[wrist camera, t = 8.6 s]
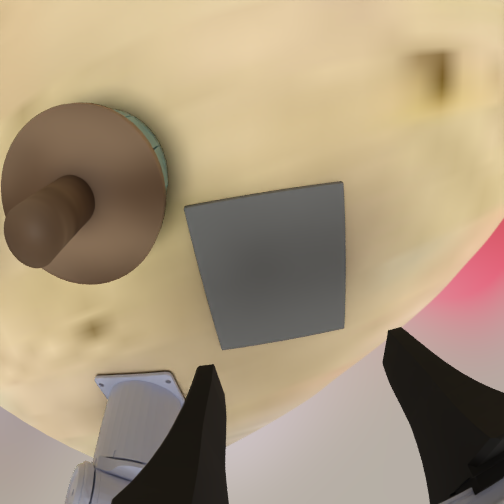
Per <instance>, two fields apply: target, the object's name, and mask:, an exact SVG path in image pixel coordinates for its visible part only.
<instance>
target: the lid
mask: <svg viewBox="0 0 504 504" xmlns="http://www.w3.org/2000/svg"><path fill="white" fill-rule="evenodd" d="M1 196H2V203H3V209H4V213H5V216H6V218H5V222H4V235H5V239H6V242H7V245H8V247H9V249H10V251H11V252H12V254H13V255H14V256H15V257H16V258H17V259H18V260H19V261H20V262H21V263H23V264H25V265H27V266H29V267H32V268H42V269H44V270H45V271H47V272H49V273H50V274H52V275H54V276H56V277H58V278H60V279H63V280H66V281H69V282H73V283H78V284H89V285H90V284H102V283H107V282H110V281H113V280H116V279H119V278H121V277H123V276H125V275H127V274H128V273H129V272H131V271H132V270H134V269H135V268H136V267H137V266H138V265H139V264H140V263H141V262H142V261H143V260H144V259H145V257H146V256H147V255H148V254H149V252H150V250H151V248H152V247H153V245H154V243H155V241H156V239H157V236H158V234H159V231H160V229H161V226H162V223H163V219H164V214H165V206H166V188H165V181H164V176H163V172H162V168H161V165H160V162H159V160H158V157H157V155H156V153H155V151H154V149H153V147H152V145H151V144H150V142H149V141H148V139H147V138H146V137H145V135H144V134H143V133H142V131H141V130H140V129H139V128H138V127H137V126H136V125H135V124H134V123H133V122H131V121H130V120H129V119H127V118H126V117H125V116H124V115H122V114H120V113H118V112H116V111H115V110H113V109H110V108H107V107H105V106H102V105H97V104H93V103H72V104H64V105H59V106H56V107H52V108H50V109H48V110H45V111H43V112H41V113H40V114H38V115H37V116H35V117H34V118H32V119H31V120H30V121H29V122H28V123H27V124H26V125H25V126H24V127H23V128H22V129H21V130H20V132H19V133H18V134H17V136H16V137H15V139H14V141H13V142H12V144H11V146H10V148H9V150H8V153H7V155H6V159H5V162H4V166H3V171H2V179H1Z"/></svg>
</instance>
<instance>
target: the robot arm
mask: <svg viewBox="0 0 504 504" xmlns="http://www.w3.org/2000/svg"><path fill="white" fill-rule="evenodd" d="M383 366H384V369H385V372H386V375H387V377H388V380H389V383H390V385H391V387H392V389H393V391H394V393H395V395H396V397H397V399H398V401H399V403H400V405H401V407H402V409H403V411H404V413H405V415H406V417H407V419H408V421H409V424H410V426H411V428H412V431H413V434H414V437H415V440H416V443H417V446H418V449H419V453H420V456H421V460H422V463H423V467H424V472H425V476H426V481H427V487H428V493H429V499H430V504H504V393H503V392H500V391H498V390H495V389H493V388H490V387H488V386H486V385H484V384H482V383H479V382H477V381H475V380H474V379H472V378H470V377H468V376H467V375H465V374H463V373H461V372H460V371H458V370H456V369H455V368H454V367H452V366H451V365H449V364H447V363H446V362H444V361H443V360H442V359H440V358H439V357H438V356H437V355H435V354H434V353H433V352H431V351H430V350H429V349H427V348H426V347H425V346H424V345H422V344H421V343H420V342H419V341H417V340H416V339H415V338H414V337H413V336H411V335H410V334H409V333H408V332H406V331H405V330H404V329H403V328H401V327H399V328H396V329H392V330H388V335H387V341H386V346H385V352H384V357H383ZM95 382H96V384H97V385H98V386H99V388H100V389H101V391H102V392H103V394H104V395H105V396H106V398H107V399H108V402H107V405H106V409H105V413H104V417H103V420H102V424H101V428H100V432H99V437H98V441H97V445H96V449H95V454H94V458H93V462H92V463H90V462H88V461H85V462H83V463H81V464H78V465H77V466H76V468H75V470H74V472H73V475H72V478H71V480H70V484H69V487H68V491H67V495H66V501H65V504H229V502H228V493H227V484H226V473H225V449H226V405H225V394H224V392H223V389H222V386H221V383H220V380H219V378H218V375H217V372H216V369H215V366H214V364H212V365H204V366H199V367H198V368H197V370H196V373H195V376H194V379H193V382H192V384H191V387H190V389H189V392H188V394H187V397H186V399H184V397H183V395H182V393H181V391H180V389H179V387H178V385H177V383H176V381H175V379H174V377H173V375H172V374H171V373H170V372H157V373H143V374H126V375H102V376H96V377H95Z"/></svg>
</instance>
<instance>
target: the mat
mask: <svg viewBox="0 0 504 504" xmlns="http://www.w3.org/2000/svg"><path fill="white" fill-rule="evenodd" d="M184 211H185V215H186V219H187V224H188V228H189V232H190V236H191V240H192V244H193V248H194V252H195V255H196V259H197V263H198V267H199V271H200V274H201V278H202V282H203V286H204V289H205V293H206V297H207V300H208V304H209V307H210V311H211V314H212V318H213V321H214V325H215V328H216V332H217V335H218V339H219V342H220V345H221V349H222V350H227V349H234V348H241V347H247V346H254V345H260V344H266V343H272V342H277V341H283V340H289V339H294V338H299V337H305V336H310V335H315V334H320V333H324V332H329V331H334V330H339V329H343V328H344V321H345V278H346V252H345V208H344V186H343V182H341V181H340V182H332V183H325V184H317V185H310V186H303V187H296V188H289V189H282V190H276V191H269V192H263V193H257V194H251V195H245V196H239V197H233V198H227V199H221V200H216V201H210V202H205V203H199V204H194V205H189V206H185V207H184Z"/></svg>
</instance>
